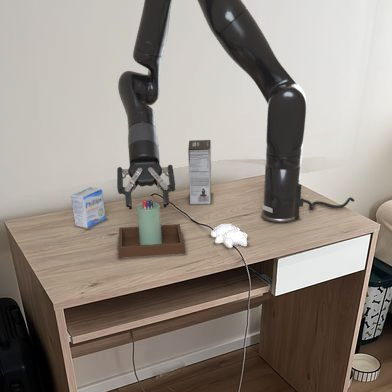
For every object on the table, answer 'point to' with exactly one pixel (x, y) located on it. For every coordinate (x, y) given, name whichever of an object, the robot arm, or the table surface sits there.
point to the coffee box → (200, 171)
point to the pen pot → (149, 223)
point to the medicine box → (88, 207)
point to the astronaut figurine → (229, 235)
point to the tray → (170, 244)
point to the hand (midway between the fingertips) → (147, 207)
